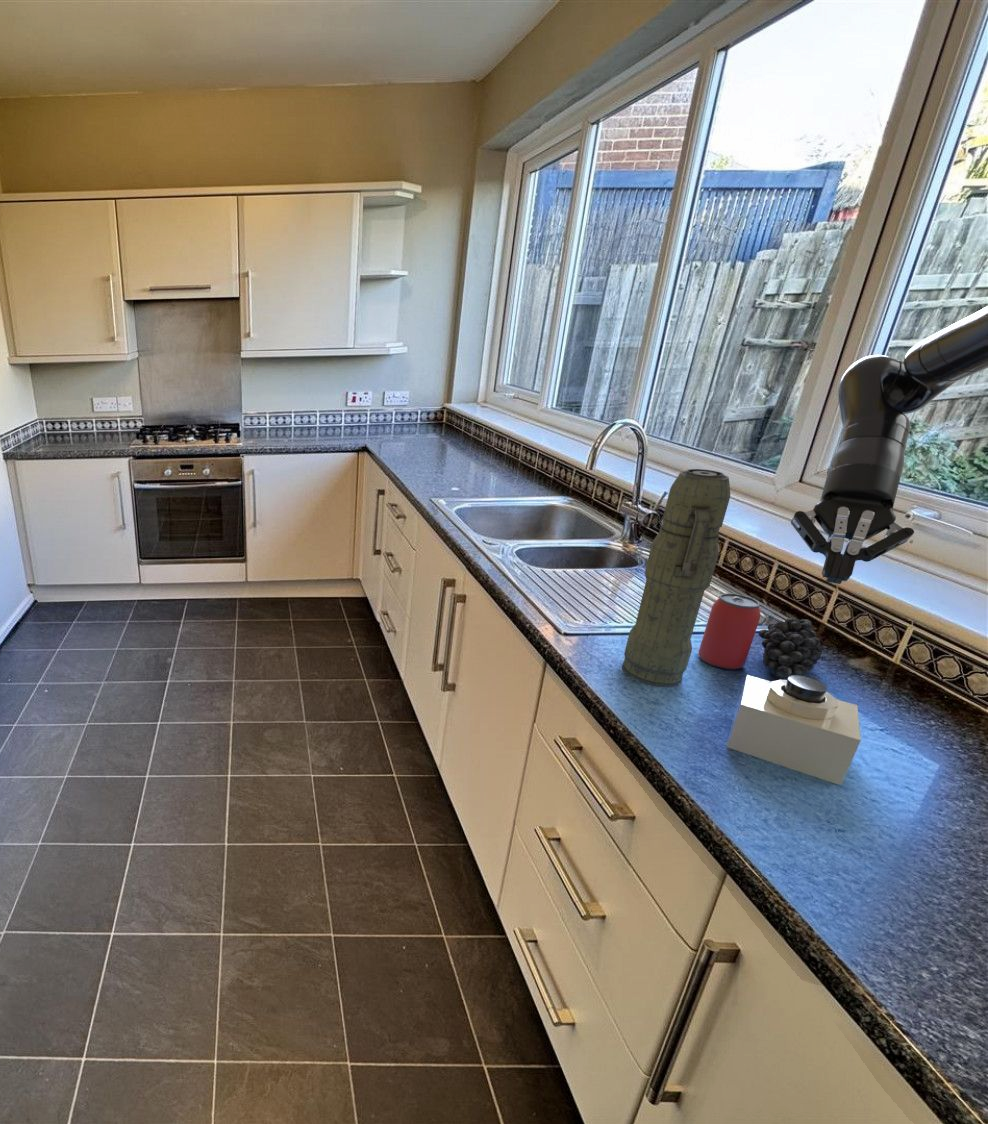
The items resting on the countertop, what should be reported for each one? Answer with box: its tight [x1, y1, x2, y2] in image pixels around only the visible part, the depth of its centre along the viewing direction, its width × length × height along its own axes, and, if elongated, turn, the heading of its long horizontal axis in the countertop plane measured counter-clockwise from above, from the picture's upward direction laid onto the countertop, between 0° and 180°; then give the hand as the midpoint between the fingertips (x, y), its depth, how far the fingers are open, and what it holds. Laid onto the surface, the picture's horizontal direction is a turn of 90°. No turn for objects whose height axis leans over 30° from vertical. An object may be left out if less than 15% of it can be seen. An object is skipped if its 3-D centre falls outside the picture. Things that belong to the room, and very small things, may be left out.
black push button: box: [783, 675, 828, 703], centre depth 83 cm, size 4×4×2 cm
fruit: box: [758, 617, 823, 680], centre depth 104 cm, size 9×8×15 cm
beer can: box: [698, 592, 761, 670], centre depth 106 cm, size 7×7×12 cm
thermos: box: [621, 468, 731, 688], centre depth 99 cm, size 9×12×35 cm
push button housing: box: [726, 674, 862, 786], centre depth 85 cm, size 12×10×9 cm
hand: (835, 580), depth 85 cm, fingers closed
